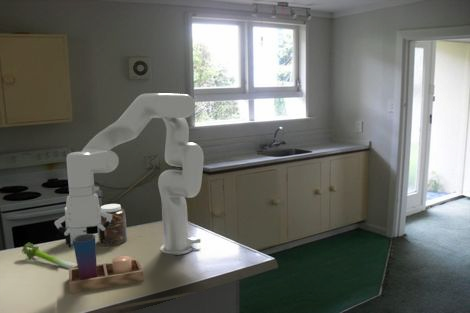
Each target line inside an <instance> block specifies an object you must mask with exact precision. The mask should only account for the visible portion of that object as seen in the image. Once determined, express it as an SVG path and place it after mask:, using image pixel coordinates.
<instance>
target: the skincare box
mask: <svg viewBox="0 0 470 313" xmlns="http://www.w3.org/2000/svg"><path fill="white" fill-rule="evenodd" d="M65 215H66V206H65V207H64V216H65ZM67 226H68V225H67V220H65V229H66V228H67ZM87 228H88V227H85V228H76V229H72V230H71V231H70V238H71V245H73V238H74V237H76V236H79V235H82V234H88V233H87V232H88V231H87V230H88V229H87ZM67 246H69V245H68V244H67Z"/></svg>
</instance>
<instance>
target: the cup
mask: <svg viewBox="0 0 470 313" xmlns="http://www.w3.org/2000/svg"><path fill="white" fill-rule="evenodd" d="M72 245H73V249H74V253H75V255H74V256H75V259H76V260H75V261H76V264H77V265H78V267H77V268H78V270H79V275H80V280H84V279H90V278H96V277H97V265H98V264H97V247H96V246H97V245H96V235H95V234H93V233H87V234H82V235H79V236H76V237H74V238H73V244H72Z"/></svg>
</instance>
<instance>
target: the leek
mask: <svg viewBox="0 0 470 313" xmlns="http://www.w3.org/2000/svg"><path fill="white" fill-rule="evenodd" d="M28 248H30V249H28ZM21 249H22V250H21V253H22V254H23V255H26V257H27V260H28V261H32V260H33V259H34V258H33V257H35V256H36V257H38V258H41V259H43V260H45V261H47V262H50V263H53V264H54V265H57V266H60V267H63V268H65V269H67V270H69V269H72V268H78V265H77V263H73V262H71V261H70V262H69V261H66V260H63V259H61V258H58V257H55V256H53V255H51V254H48V253H46V252H44V251H41V250H39V246H37V245H35V244H33V243H31V242H27V243H26V244H24V245H23V247H22V248H21Z"/></svg>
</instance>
